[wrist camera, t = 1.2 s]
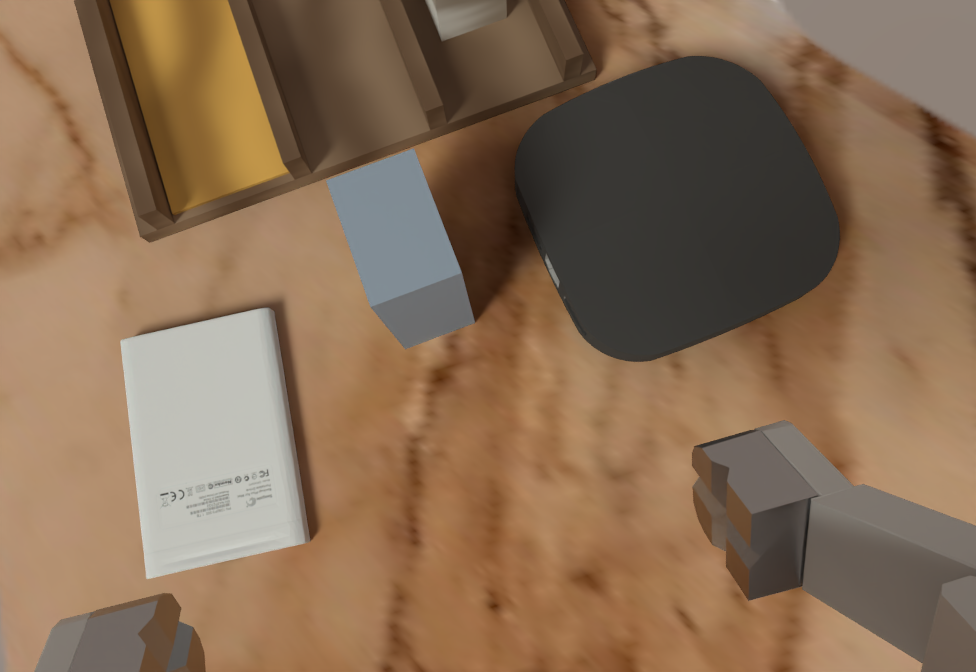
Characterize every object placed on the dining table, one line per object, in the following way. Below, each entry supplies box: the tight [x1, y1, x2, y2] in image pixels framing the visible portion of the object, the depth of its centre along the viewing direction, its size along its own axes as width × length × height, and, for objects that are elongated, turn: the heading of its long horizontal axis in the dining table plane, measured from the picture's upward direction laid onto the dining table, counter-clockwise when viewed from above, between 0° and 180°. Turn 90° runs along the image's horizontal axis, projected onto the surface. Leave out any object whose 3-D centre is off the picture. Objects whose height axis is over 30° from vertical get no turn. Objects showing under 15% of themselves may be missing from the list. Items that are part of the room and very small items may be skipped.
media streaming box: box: [515, 56, 840, 362], centre depth 37 cm, size 15×15×3 cm
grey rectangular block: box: [326, 149, 475, 349], centre depth 34 cm, size 4×6×9 cm, turn 21°
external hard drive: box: [121, 308, 310, 579], centre depth 36 cm, size 2×8×12 cm
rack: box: [74, 0, 597, 243], centre depth 38 cm, size 27×16×7 cm, turn 111°
